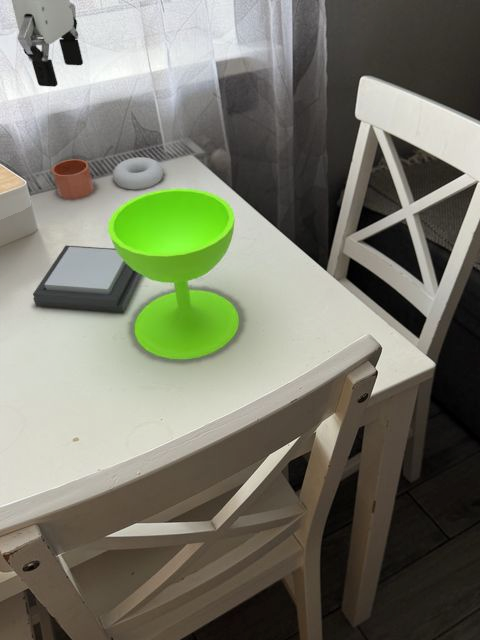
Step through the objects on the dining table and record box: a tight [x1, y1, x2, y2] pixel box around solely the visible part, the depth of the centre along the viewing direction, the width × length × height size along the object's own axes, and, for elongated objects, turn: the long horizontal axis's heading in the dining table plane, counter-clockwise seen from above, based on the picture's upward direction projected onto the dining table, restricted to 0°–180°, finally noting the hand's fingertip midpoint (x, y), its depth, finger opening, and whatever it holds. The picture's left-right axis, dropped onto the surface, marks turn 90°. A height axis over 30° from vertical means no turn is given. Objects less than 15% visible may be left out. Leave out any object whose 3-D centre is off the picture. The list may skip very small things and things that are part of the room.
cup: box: [51, 158, 95, 200], centre depth 115 cm, size 7×7×6 cm
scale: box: [32, 245, 143, 314], centre depth 94 cm, size 14×13×4 cm
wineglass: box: [107, 188, 240, 360], centre depth 82 cm, size 16×16×18 cm
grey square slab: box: [45, 247, 126, 295], centre depth 93 cm, size 10×10×2 cm
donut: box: [112, 156, 164, 191], centre depth 119 cm, size 10×4×10 cm
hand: (61, 74), depth 100 cm, fingers open, 9 cm apart
